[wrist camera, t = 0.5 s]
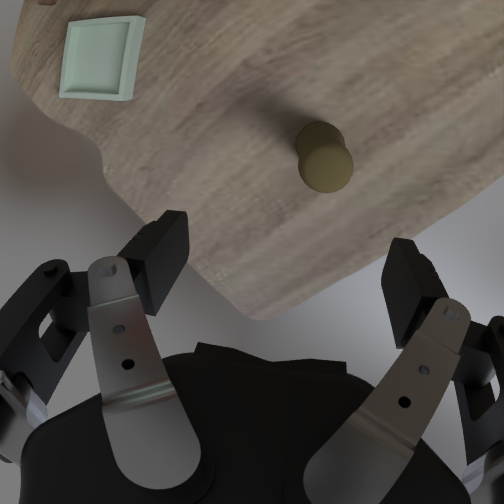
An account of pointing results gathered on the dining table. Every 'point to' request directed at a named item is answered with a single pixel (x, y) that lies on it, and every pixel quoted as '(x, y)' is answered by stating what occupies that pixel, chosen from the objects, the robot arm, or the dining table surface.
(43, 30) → the dining table surface
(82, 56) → the tray
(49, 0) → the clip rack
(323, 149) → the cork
